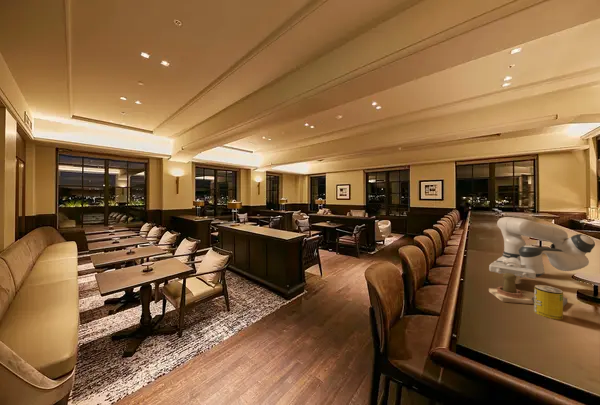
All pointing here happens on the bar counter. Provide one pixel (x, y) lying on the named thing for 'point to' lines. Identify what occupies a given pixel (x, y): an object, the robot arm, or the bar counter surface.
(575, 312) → the bar counter surface
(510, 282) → the cork
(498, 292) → the square base with ring
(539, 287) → the yellow can
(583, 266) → the robot arm
